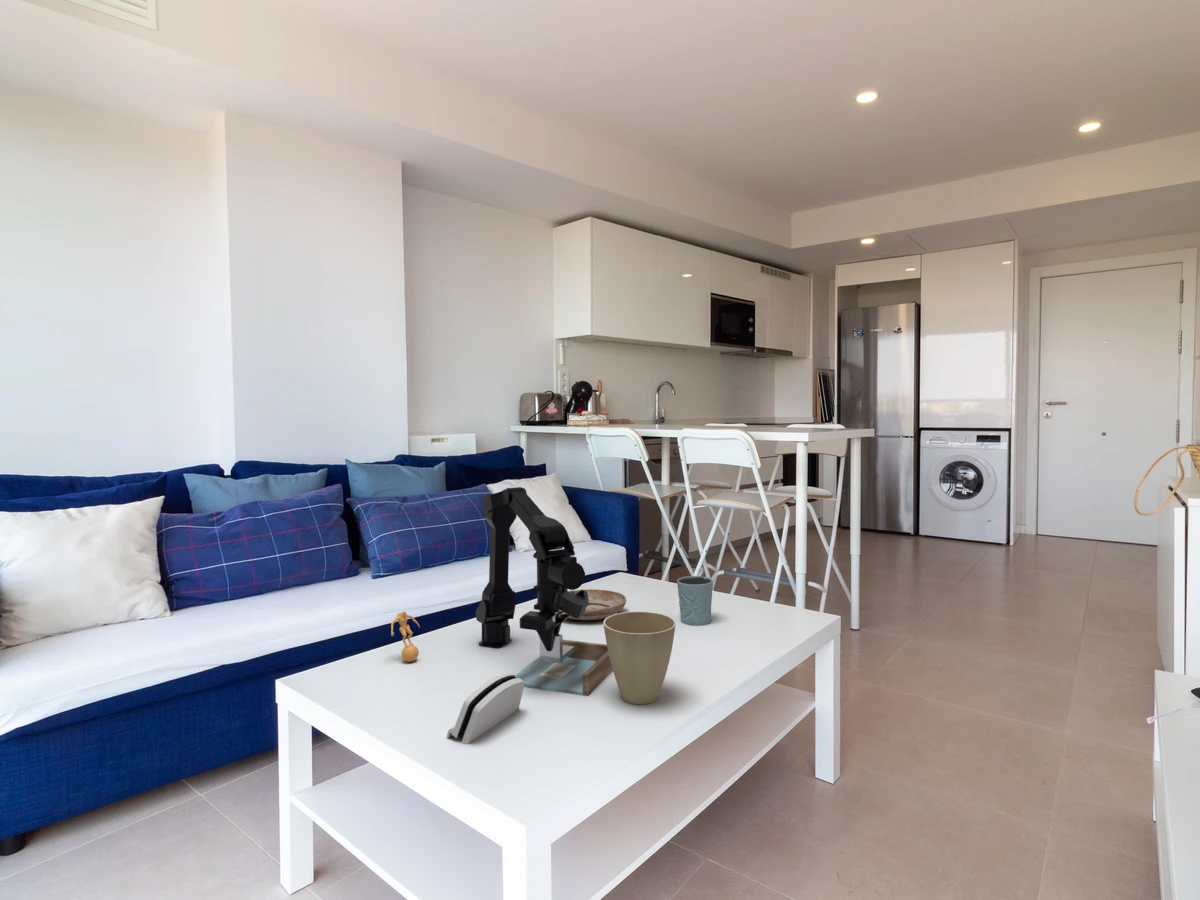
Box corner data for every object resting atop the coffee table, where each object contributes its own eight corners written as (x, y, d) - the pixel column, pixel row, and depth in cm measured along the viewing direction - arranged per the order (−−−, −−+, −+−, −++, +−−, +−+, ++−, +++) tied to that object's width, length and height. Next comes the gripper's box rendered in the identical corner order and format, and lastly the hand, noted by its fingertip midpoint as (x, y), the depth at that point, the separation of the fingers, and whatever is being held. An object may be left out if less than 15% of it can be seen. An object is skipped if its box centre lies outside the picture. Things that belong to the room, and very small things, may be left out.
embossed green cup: (718, 619, 191) (718, 578, 190) (704, 629, 182) (704, 585, 182) (686, 614, 196) (686, 574, 196) (671, 623, 188) (670, 581, 187)
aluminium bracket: (560, 663, 146) (559, 636, 146) (539, 660, 148) (539, 634, 148) (574, 651, 154) (574, 626, 154) (554, 649, 156) (554, 623, 155)
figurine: (401, 668, 155) (400, 617, 155) (385, 663, 159) (384, 613, 158) (429, 657, 162) (428, 609, 162) (413, 653, 166) (411, 605, 165)
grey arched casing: (498, 703, 135) (511, 660, 133) (517, 715, 133) (530, 672, 131) (444, 738, 120) (458, 691, 118) (464, 752, 118) (478, 704, 116)
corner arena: (506, 684, 145) (506, 664, 145) (544, 655, 163) (544, 637, 163) (588, 695, 138) (587, 675, 138) (618, 664, 156) (618, 645, 156)
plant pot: (589, 699, 136) (588, 623, 136) (633, 678, 148) (632, 607, 147) (648, 720, 127) (647, 638, 126) (690, 695, 138) (689, 619, 138)
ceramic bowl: (599, 600, 214) (599, 584, 214) (641, 617, 194) (641, 601, 194) (535, 611, 202) (534, 595, 201) (572, 631, 182) (572, 613, 181)
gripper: (566, 593, 136) (567, 668, 136) (598, 574, 153) (599, 640, 154) (517, 589, 139) (518, 662, 140) (554, 570, 157) (555, 635, 158)
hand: (550, 649), depth 148 cm, fingers closed on aluminium bracket
